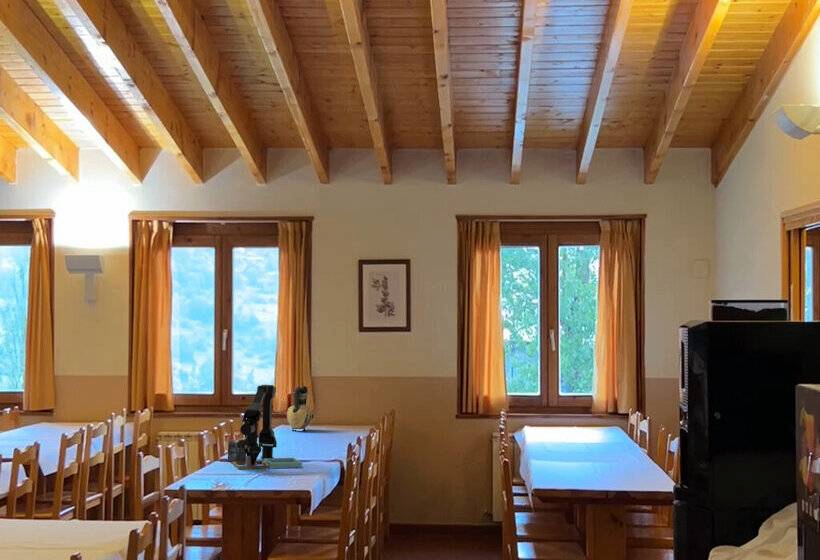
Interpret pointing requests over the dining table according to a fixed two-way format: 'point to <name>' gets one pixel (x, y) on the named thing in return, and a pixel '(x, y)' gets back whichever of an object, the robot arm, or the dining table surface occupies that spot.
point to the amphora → (299, 410)
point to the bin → (282, 462)
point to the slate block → (249, 461)
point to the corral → (249, 466)
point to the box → (235, 452)
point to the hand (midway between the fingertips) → (250, 463)
